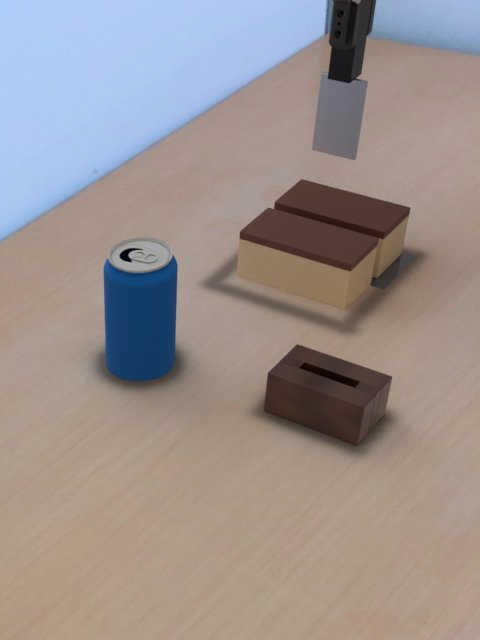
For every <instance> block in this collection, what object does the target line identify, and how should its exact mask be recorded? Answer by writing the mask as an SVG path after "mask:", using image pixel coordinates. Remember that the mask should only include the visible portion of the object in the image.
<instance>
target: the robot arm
mask: <svg viewBox="0 0 480 640" xmlns="http://www.w3.org/2000/svg"><path fill="white" fill-rule="evenodd" d="M332 2H333V5H332V12H331V20H330V29H329V37H328V44H329V46H330V47H333V48H338V49H343V50H350V49H351V48H352V47H354V46H355V44H356V40H357V33H358V26H359V19H360V12H361V5H362V1H361V0H332ZM376 4H377V0H372V5H371V12H370V18H369V25H368V32H367V37H368V36H369V35H371V33H372V31H373V25H374V20H375V12H376V11H375V10H376Z"/></svg>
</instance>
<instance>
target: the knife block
mask: <svg viewBox="0 0 480 640" xmlns="http://www.w3.org/2000/svg"><path fill="white" fill-rule="evenodd" d="M392 381H393V376H392V375H388V374H386V373H383V372H380V371H377V370H374V369H372V368H368V367H366V366H363V365H360V364H357V363H355V362H351V361H348V360H345V359H342V358H339V357H336V356H334V355H330V354H327V353H325V352H322V351H318V350H316V349H313V348H310V347H307V346H304V345H301V344H298V343H296V344H295V346H293V348H291V350H289V351H288V352H287V353H286V354H285V355H284V356H283V357H282V358H281V359H280V360H279V361H278V362H277V363H276V364H275V365H274V366H273V367H272V368H271V369H270V370H269V371H268V372H267V376H266V384H265V385H266V386H265V395H264V403H263V405H264V406H263V412H265V413H268V414H271V415H273V416H276V417H277V418H281V419H284V420H286V421H289V422H292V423H295V424H297V425H299V426H302V427H305V428H307V429H310V430H313V431H315V432H318V433H321V434H323V435H325V436H329V437H331V438H334V439H336V440H340V441H342V442H345V443H347V444H350V445H352V446H354V447H358V446H359V445H360V444H361V442H363V440H364V439H365V438H366V437H367V436H368V435H369V434H370V432H371V431H372V430H373V429H374V428H375V427H376V426H377V425H378V424H379V422H380V421H381V420H383V418H384V416H385V414H386V410H387V406H388V405H387V404H388V400H389V395H390V391H391V386H392Z"/></svg>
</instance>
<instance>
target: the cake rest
mask: <svg viewBox="0 0 480 640" xmlns="http://www.w3.org/2000/svg"><path fill="white" fill-rule="evenodd" d="M273 209H276V210H280V211H283V212H287V213H290V214H294V215H297V216H301V217H305V218H308V219H312V220H315V221H319V222H323V223H326V224H330V225H333V226H337V227H341V228H344V229H348V230H351V231H355V232H359V233H362V234H366V235H369V236H373V237H376V238H379V240H378V245H377V251H376V257H375V263H374V268H373V274H372V277H373V278H378V277H379V276H380V275H381V274H382V273H383V272H384V271H385V270H386V269H387V268H388V267H389V266H390V265H391V264H392V263H393V262H394V261H395V260H396V259H397V258H398V257H399V256H400V255H401V254H402V251H403V247H404V243H405V238H406V233H407V230H408V229H407V228H408V223H409V218H410V214H411V207H410V206H408V205H407V206H406V205H403V204H399V203H395V202H391V201H389V200H388V201H387V200H383V199H381V198H375V197H372V196H368V195H364V194H362V193H361V194H360V193H358V192H357V193H356V192H352V191H348V190H346V189H341V188H338V187H335V186H330V185H325V184H322V183H318V182H314V181H311V180H307V179H303V178H301V179H300V180H299V181H297V182H296V183H295V184H294V185H292V186H291V187H290V188H289V189H288V190H287V191H286V192H284V193H283V194H282V195H281V196H280V197H278V198H277V199H276V200H275V201H274V205H273Z"/></svg>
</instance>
